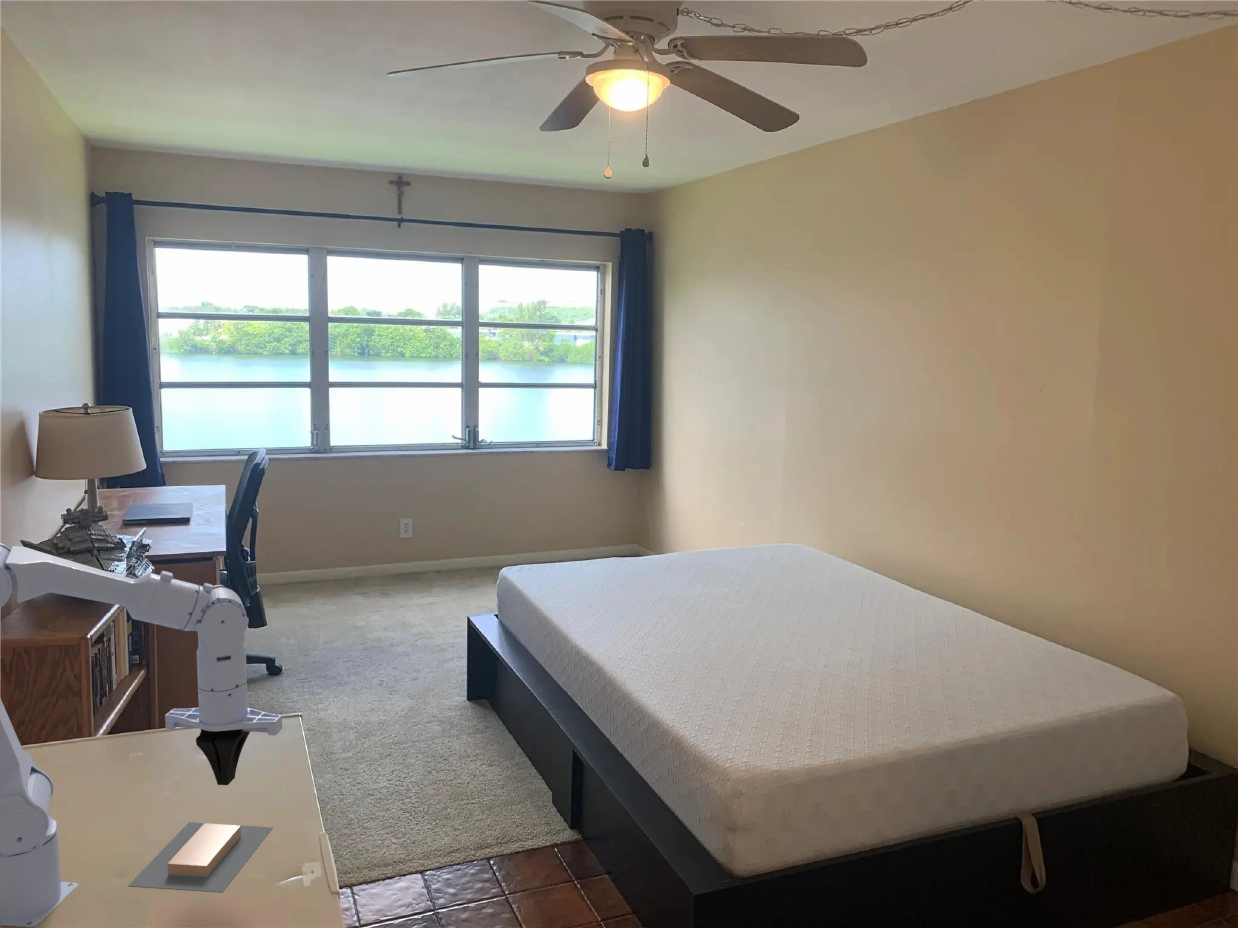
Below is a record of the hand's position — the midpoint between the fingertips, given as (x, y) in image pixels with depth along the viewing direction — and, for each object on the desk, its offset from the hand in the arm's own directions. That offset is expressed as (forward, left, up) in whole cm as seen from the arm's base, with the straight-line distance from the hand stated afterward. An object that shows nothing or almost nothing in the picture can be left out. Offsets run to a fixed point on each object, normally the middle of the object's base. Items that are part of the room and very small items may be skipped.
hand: (226, 781), depth 113 cm
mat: (-3, -1, -10) cm, 11 cm away
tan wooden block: (0, -1, -9) cm, 9 cm away
